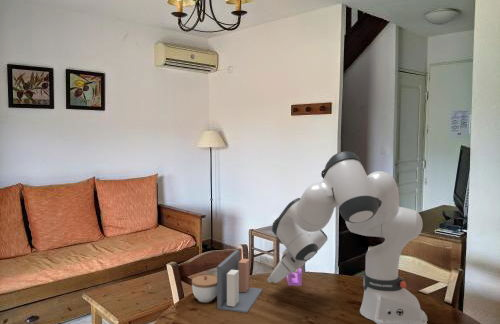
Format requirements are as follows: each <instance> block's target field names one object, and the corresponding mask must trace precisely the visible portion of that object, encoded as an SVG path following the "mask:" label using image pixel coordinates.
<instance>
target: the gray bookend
mask: <svg viewBox="0 0 500 324" xmlns="http://www.w3.org/2000/svg"><path fill="white" fill-rule="evenodd" d="M240 255H241V254H240V250H239V249H235V250H234V251H233V252H232V253H231V254H230V255H228V256H227V257H226V258H225V259H224V260H222V261H221V262H219V264H218V265H216V277H217V296H216V297H217V298H216V299H217V301H216V304H217V306H216V309H217V310H220V311H221V310H222V311H230V312H238V313H245V314H247V313H248V312H249V311H250V309H251V308H252V306H253V305H254V303H255V302H256V300H257V299H258V298H259V296H260V295H261V293H262V292H263V288H258V287H250V286H249V289H248V290H247V291H246V292H239V302H238V303H237V304H236V306H235V307H233V306H227V273H228V272H229V271H230V270H239V261H240V260H241V259H240V257H241V256H240Z"/></svg>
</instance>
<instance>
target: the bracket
mask: <svg viewBox="0 0 500 324" xmlns="http://www.w3.org/2000/svg"><path fill="white" fill-rule="evenodd" d="M285 278H286V282H287V285H288V286H290V287H291V286H294V287H295V286H300V287H301V286H302V285H303V283H302V280H303V270H302V268H301V267H300V268H299V269H297V270H296V271H295V272H293V273H292V272H291V273H290V274H289V275H287V276H286V277H285Z"/></svg>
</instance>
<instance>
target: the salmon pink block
mask: <svg viewBox="0 0 500 324" xmlns="http://www.w3.org/2000/svg"><path fill="white" fill-rule="evenodd" d="M249 287H250V259H249V258H241V259H240V261H239V292H246V291H247V290H248V289H249Z"/></svg>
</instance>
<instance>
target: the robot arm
mask: <svg viewBox="0 0 500 324" xmlns="http://www.w3.org/2000/svg"><path fill="white" fill-rule="evenodd" d="M320 174H321V178H322V179H323V180H322V181H320V182H315V183H312V184H310V185H309V186H308V187H307V188H306V189H305V190H304V192H303V193H302V194H301V196H300V197H296V198H295V199H293V200H292V201H290V202H289V203H288V204H287V205H286V206H285V207H284V209H283V210H282V212H281V213H280V215H278V217H277V218H276V219H274V221H273V222H272V227H271V232H272V233H273V234H274V235H275V236H276V237H277V239H279V240H280V242H281V243H282V245H283V246H284V247H285V249H284V250H283V251H282V252H281V254H282V255H281V259H280V260H279V261H278V263H277V265H276V266H275V268H274V269H273V271H272V272H271V274H270V275H269V276H268V277H267V279H266V281H267V283H269V284H271V283H274V284H278V283H280V282H282V280H284V279H285V278H286V276H287V275H289V274H290V273H291V272H292V273H293V272H295V273H296V272H297V270H298V269H299V268H301V267H302V266H304V265H305V264H306V263H307V262H308V261H310V260H311V259H312V258H313V257H314V256H315V255H316V254H318V252H319V250H321V249H322V248H323V246H324V245H325V244H326V242H327V241H328V239H329V238H328V236H327V234H326V233H325V232H324V230H323V229H324V228H325V227H326V226H327V225H328V224H329V222H330V220H331V218H332V216H333V214H334V211H335V208H336V207H338V212H339V213H340V216H341V217H342V218H343V220H344V221H345V224H346V225H345V226H346V228H347V229H348V230H349V231H350V233H353V234H357V235H361V236H365V237H376V238H384V241H383V242H382V243H380V244H377V245H374V246H372V247H370V248H369V249H368V250H367V251H366V253H365V271H364V274H363V290H364V292H363V297H362V302H361V306H360V309H359V313H360V314H361V315H362V316H363V317H364V318H366V319H369V320H370V321H373V322H374V323H376V324H428V323H427V321H428V315H427V314H426V312H425V311H424V310H422V308H421V305H420V304H421V303H420V301H419V300H418V298H417V297H416V296H415V295H414V294H412V293H411V292H410V291H409V290H408V289H406V288H407V283H406V281H405V280H404V279H403V277H402V276H401V275H399V264H400V258H401V254H402V251H403V249H404V248H405V247H406V246H407V244H409V242H411V241H412V240H414V239H416V238H417V237H419V235H421V233H422V230H423V226H424V225H423V223H424V222H423V219H422V216H421V214H420V213H419V211H417V210H415V209H412V208H408V207H404V206H403V207H402V206H400V192H399V187H398V184H397V182H396V180H395V178H394V177H393V176H392V174H390V173H388V172H386V171H381V170H379V171H373V172H371V173H370V174H368V175H367V172H366V170H365V168H364V166H363V163H362V161H361V159H360V157H359V156H358V154H356V153H355V152H352V151H347V150H346V151H340V152H337V153H335V154H334V155H332V156H331V157H330V158H329V160H328V161H327V162H326V164H325V167H324V169H323V170H322V171H321V173H320Z"/></svg>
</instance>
